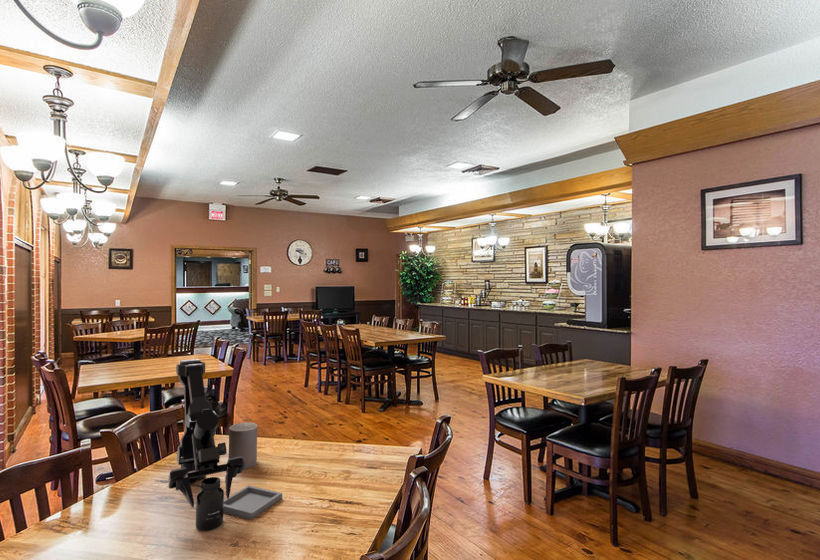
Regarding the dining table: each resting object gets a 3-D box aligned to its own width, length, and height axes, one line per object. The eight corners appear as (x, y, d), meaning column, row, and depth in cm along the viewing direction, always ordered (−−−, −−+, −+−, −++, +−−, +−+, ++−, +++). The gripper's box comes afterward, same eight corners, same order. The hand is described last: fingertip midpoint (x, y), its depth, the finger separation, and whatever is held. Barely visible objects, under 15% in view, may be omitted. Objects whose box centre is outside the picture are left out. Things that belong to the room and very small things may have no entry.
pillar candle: (222, 467, 158) (222, 424, 158) (242, 457, 167) (242, 417, 167) (243, 472, 155) (244, 428, 155) (262, 461, 164) (263, 420, 164)
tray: (215, 510, 128) (216, 504, 128) (248, 491, 140) (248, 485, 140) (251, 519, 123) (251, 513, 123) (282, 498, 135) (282, 493, 135)
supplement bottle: (213, 533, 117) (213, 487, 117) (189, 530, 118) (190, 484, 118) (228, 520, 123) (229, 476, 123) (206, 517, 125) (207, 474, 125)
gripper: (169, 440, 119) (174, 498, 110) (243, 428, 129) (252, 480, 120) (166, 460, 126) (170, 516, 116) (236, 447, 136) (245, 498, 127)
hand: (211, 502), depth 120 cm, fingers open, 8 cm apart
